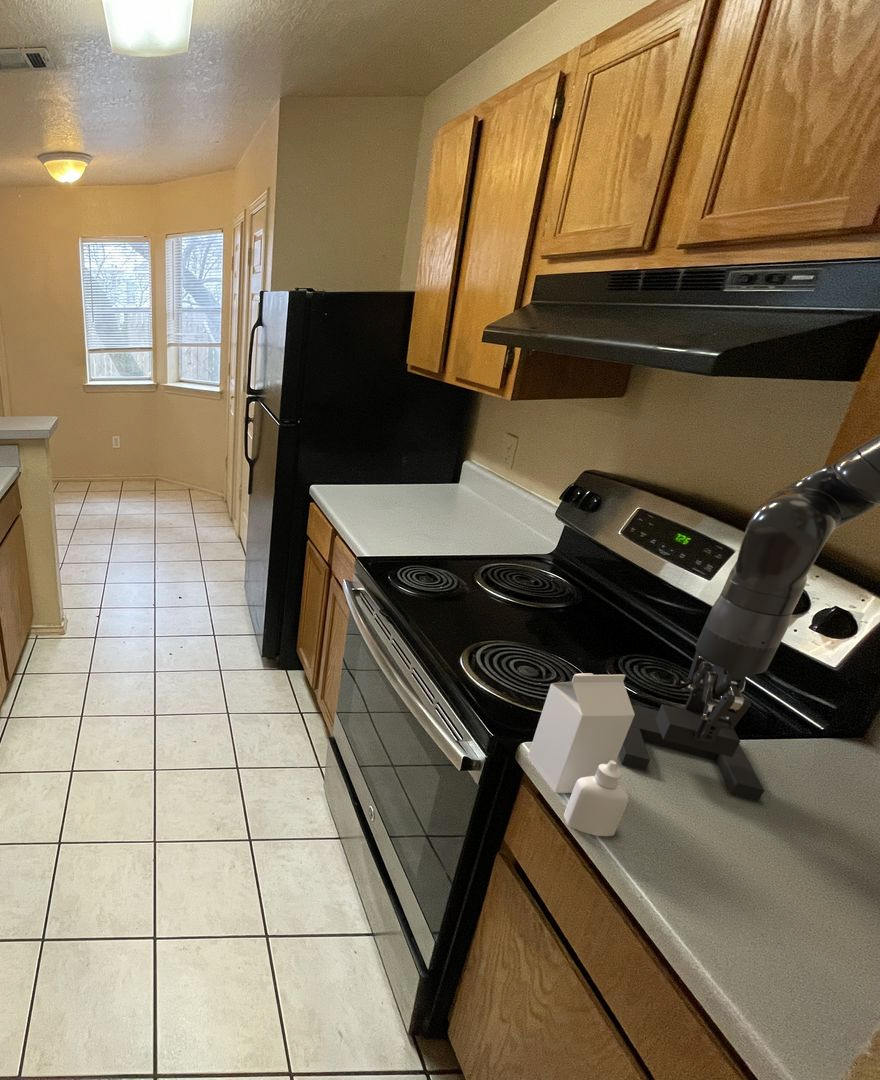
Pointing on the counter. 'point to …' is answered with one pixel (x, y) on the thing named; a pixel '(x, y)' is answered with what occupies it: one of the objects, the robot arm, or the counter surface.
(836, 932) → the counter surface
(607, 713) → the milk carton
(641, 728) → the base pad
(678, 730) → the small pad
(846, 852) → the counter surface
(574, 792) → the eye dropper bottle
